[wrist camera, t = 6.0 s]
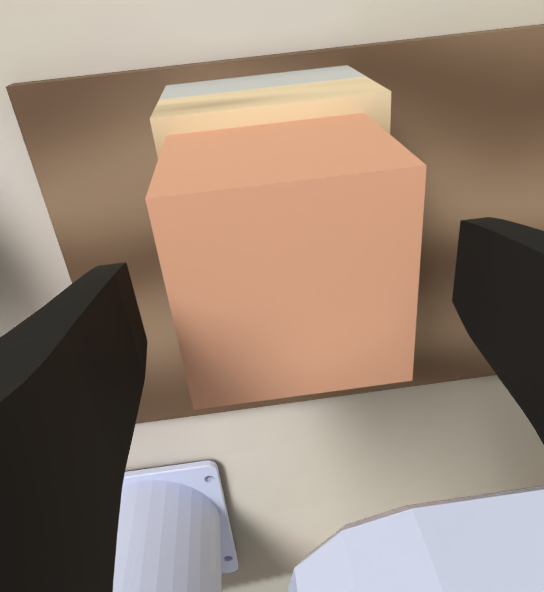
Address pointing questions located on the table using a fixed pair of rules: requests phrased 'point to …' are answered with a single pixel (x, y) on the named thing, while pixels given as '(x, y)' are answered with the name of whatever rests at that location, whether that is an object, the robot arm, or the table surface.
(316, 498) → the table surface
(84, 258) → the board
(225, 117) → the slab top
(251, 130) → the block
